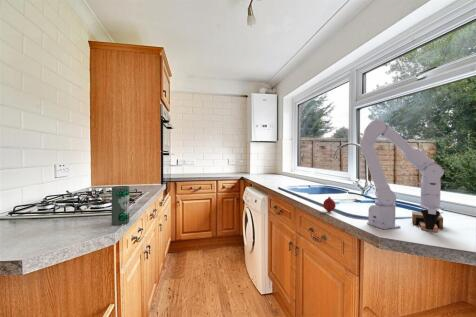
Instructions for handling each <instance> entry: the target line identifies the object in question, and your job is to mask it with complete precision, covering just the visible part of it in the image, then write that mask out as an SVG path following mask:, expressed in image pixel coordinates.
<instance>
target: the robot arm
mask: <svg viewBox="0 0 476 317" xmlns="http://www.w3.org/2000/svg"><path fill="white" fill-rule="evenodd" d="M379 137H380V138H381V139H385V140H389V141H390V142H391V143H392V144H394V146H396V147H397V148H398V149H399V150H401V151H402V152H403V153H404V155H403V156H404V157H403V158H404V159H405V160H406V161H408V162H409V163H410V164H411V166H413V167H414V168H415V169H416V170H418V173H419V174H420V175H421V181H420V203H419V207H420V210H419V212H421V213H422V214H423V217H424V222H425V227H426V229H430V230H433V229H434V226H435V223H436V220H437V218H438V217H439V216H440V215H441V213H440V210H445V207H444V206H443V205H441V190H442V189H441V184H442V183H441V178H442V177H443V175H444V172H445V171H444V170H443V167H442V166H441V165H439V164H437V163H434V162H435V159H433V158H432V159H431V158H430V157H429V156H428V155H427V154H425V152H426V151H425V150H424V149H420V148H419V147H413V146H411V144H409V143H408V141H406V140H405V139H404V138H403V137H402V136H401V135H400V134H399V133H398V132H397V131H396V130H395V129H393V127H392V126H390V125H388V124H386V123H385V121H383V120H382V119H374V120H371V121H370V122H369V123H368V125H366V127H365V129H364V131H363V134H362V137H361V138H360V142H359V146H360V149H361V151H362V154H363V156H364V159H365V162H366V165H367V167H368V169H369V174H370V176H371V178H372V181H373V184H374V185H373V186H374V187H375V194H374V196H375V197H376V200H375V201H374V204H372V205H370V206H369V207H368V215H367V216H368V220H367V221H366V224H368V225H369V226H370V225H371V226H373V227H376V228H378V229H382V230H387V229H397V228H401V225H398V224H396V202H397V194H396V193H395V192H394V191H393V190H392V189H391V188H390V185H389V183H388V181H387V179H386V176H385V172H384V171H383V170H384V169H383V168H382V165H381V163H380V160H379V157H378V154H377V151H376V149H375V146H374V145H375V142H376V141H377V140H378V138H379Z"/></svg>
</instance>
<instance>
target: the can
mask: <svg viewBox="0 0 476 317" xmlns="http://www.w3.org/2000/svg"><path fill="white" fill-rule="evenodd" d="M129 223H130V186H128V185H115V186H112V187H111V225H112V226H123V225H127V224H129ZM122 224H123V225H122Z"/></svg>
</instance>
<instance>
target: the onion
mask: <svg viewBox="0 0 476 317" xmlns="http://www.w3.org/2000/svg"><path fill="white" fill-rule="evenodd" d="M322 206H323V209H325V211H327V212H328V213H331V212H333V211H334V210H335V208H336V206H337V204H336V202H335V201H334V199H332V198H331V196H328V197H327V199H324V201H323V203H322Z"/></svg>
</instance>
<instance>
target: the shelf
mask: <svg viewBox="0 0 476 317" xmlns="http://www.w3.org/2000/svg"><path fill="white" fill-rule="evenodd" d="M411 218H412V219H411V222H412V225H413V226H414V225H417V223H418V224H420V222H424V217H423V214H422V213H421V211H412V212H411ZM435 224H436V225H437V227H438V229H440V230H442V229H444V217H443V216H442V214H440V216H439V217H438V218H437V220H436V223H435Z"/></svg>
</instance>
